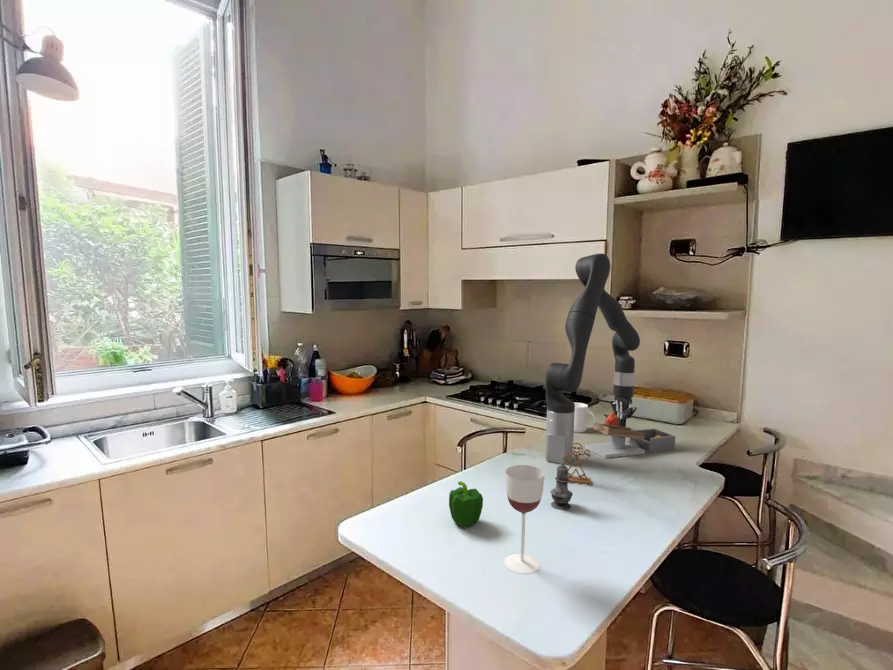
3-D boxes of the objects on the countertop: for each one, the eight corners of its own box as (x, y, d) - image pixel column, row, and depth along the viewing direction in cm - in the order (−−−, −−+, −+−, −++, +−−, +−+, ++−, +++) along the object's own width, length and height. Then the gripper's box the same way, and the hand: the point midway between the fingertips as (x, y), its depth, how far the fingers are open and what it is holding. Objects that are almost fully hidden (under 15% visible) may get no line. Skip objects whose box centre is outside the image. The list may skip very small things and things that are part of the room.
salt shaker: (568, 512, 128) (570, 468, 127) (546, 506, 131) (548, 463, 130) (575, 504, 133) (576, 461, 132) (554, 499, 136) (555, 457, 135)
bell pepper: (487, 528, 119) (488, 489, 118) (454, 532, 116) (455, 492, 115) (475, 513, 127) (476, 476, 126) (444, 517, 124) (445, 479, 123)
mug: (591, 435, 196) (592, 409, 195) (562, 430, 202) (563, 405, 201) (597, 430, 203) (598, 405, 202) (569, 425, 210) (570, 401, 209)
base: (644, 453, 175) (645, 438, 175) (605, 458, 170) (606, 442, 169) (622, 443, 187) (623, 429, 186) (584, 447, 181) (585, 433, 181)
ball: (659, 441, 182) (666, 442, 183) (656, 432, 184) (663, 434, 185) (653, 445, 184) (660, 446, 185) (650, 437, 186) (657, 438, 187)
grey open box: (674, 449, 181) (675, 436, 180) (649, 452, 177) (650, 438, 176) (653, 440, 191) (654, 428, 190) (629, 443, 187) (630, 430, 186)
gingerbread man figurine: (559, 481, 148) (561, 443, 147) (560, 477, 152) (562, 439, 151) (590, 485, 146) (592, 446, 145) (590, 480, 150) (592, 442, 149)
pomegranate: (618, 432, 208) (600, 416, 211) (630, 421, 205) (611, 405, 208) (616, 439, 202) (596, 422, 204) (628, 427, 199) (608, 411, 201)
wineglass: (498, 570, 101) (501, 476, 99) (508, 549, 109) (511, 462, 107) (536, 578, 98) (540, 483, 96) (544, 556, 106) (547, 468, 105)
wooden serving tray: (643, 439, 177) (645, 432, 177) (607, 435, 172) (609, 428, 172) (616, 428, 191) (618, 421, 191) (582, 423, 186) (584, 417, 186)
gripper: (644, 386, 181) (641, 431, 183) (620, 379, 193) (618, 422, 195) (627, 387, 179) (625, 433, 180) (604, 380, 191) (602, 423, 193)
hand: (621, 427), depth 188 cm, fingers closed
